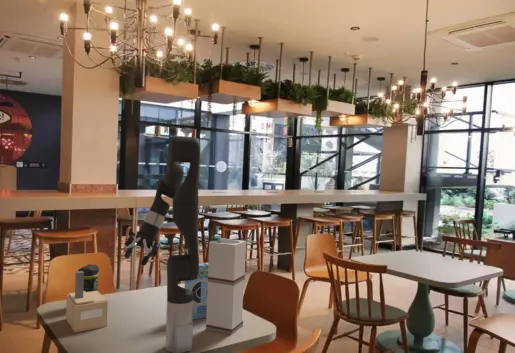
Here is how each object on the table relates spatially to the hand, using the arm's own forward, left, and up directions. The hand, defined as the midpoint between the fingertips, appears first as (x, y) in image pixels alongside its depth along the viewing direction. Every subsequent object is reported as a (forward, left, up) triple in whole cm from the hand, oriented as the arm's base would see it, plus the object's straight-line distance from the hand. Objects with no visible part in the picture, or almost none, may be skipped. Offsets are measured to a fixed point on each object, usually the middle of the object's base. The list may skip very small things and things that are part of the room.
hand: (134, 261), depth 166 cm
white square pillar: (-20, -31, -26) cm, 45 cm away
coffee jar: (+31, +10, -26) cm, 42 cm away
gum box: (-4, -31, -26) cm, 41 cm away
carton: (+12, +15, -26) cm, 32 cm away
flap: (+12, +17, -16) cm, 26 cm away
